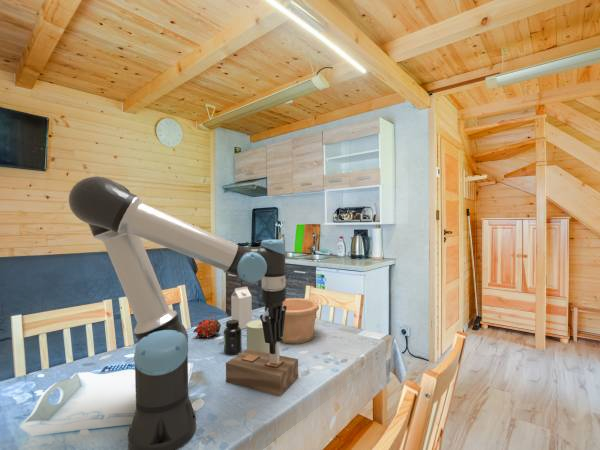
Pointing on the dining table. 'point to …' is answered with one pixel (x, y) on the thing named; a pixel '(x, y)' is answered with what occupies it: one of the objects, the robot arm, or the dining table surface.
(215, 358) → the dining table surface
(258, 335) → the can
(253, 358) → the left pin
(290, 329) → the pottery
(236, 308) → the milk carton
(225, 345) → the supplement bottle
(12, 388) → the dining table surface
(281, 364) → the right pin
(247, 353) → the socket block
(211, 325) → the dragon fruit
